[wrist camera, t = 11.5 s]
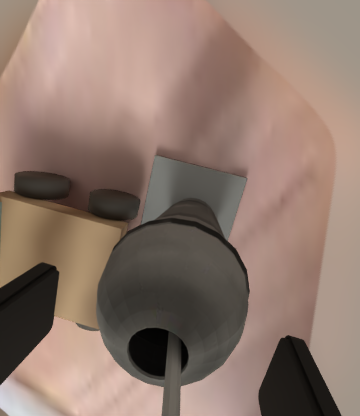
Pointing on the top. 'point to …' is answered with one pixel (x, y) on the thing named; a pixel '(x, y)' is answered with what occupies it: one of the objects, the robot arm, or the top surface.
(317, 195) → the top surface
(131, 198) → the trolley
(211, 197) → the mat
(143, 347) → the beverage cup
